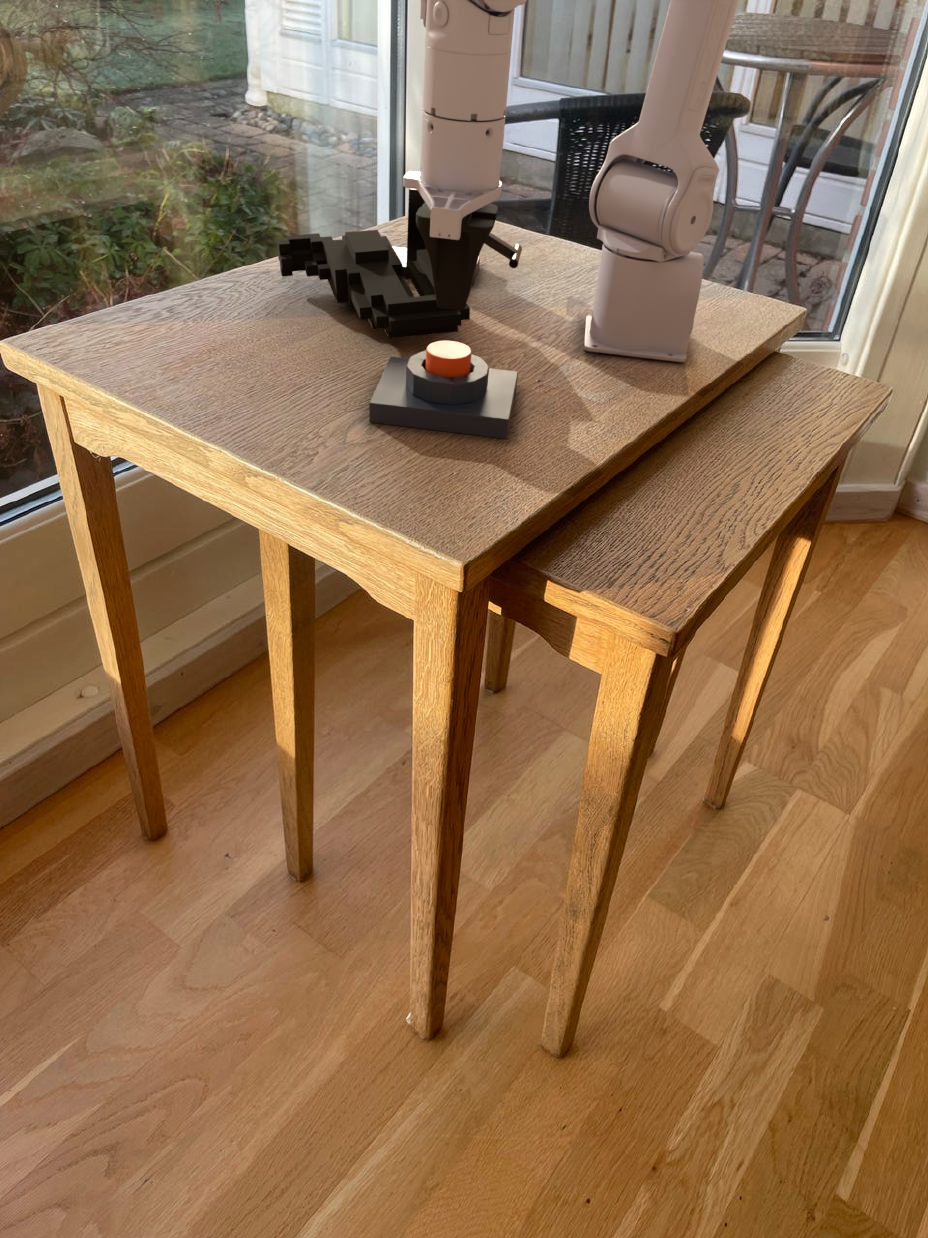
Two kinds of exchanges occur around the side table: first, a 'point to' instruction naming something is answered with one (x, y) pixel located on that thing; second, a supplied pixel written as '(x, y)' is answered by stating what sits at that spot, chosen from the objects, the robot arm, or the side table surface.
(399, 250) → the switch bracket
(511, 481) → the side table surface
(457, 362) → the button
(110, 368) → the side table surface
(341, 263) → the tool
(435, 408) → the button box
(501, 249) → the switch lever
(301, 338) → the side table surface
